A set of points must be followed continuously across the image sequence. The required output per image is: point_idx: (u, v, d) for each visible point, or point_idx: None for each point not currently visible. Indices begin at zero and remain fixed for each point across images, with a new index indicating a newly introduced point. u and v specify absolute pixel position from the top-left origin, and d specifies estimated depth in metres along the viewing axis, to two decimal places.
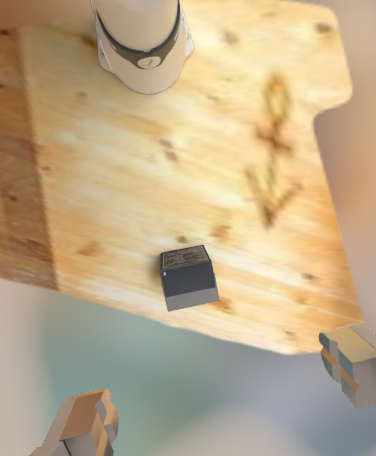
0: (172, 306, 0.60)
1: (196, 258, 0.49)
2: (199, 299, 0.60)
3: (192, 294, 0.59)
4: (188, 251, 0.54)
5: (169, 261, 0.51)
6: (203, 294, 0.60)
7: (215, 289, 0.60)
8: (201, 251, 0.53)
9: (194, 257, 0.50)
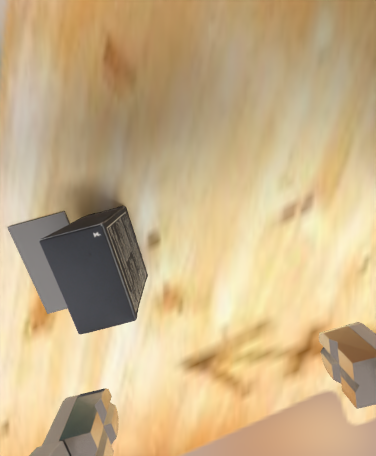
0: (19, 234, 0.31)
1: (132, 286, 0.25)
2: (42, 281, 0.33)
3: None
4: (137, 258, 0.30)
5: (119, 232, 0.26)
6: (55, 286, 0.33)
7: None
8: (141, 283, 0.30)
9: (133, 279, 0.27)
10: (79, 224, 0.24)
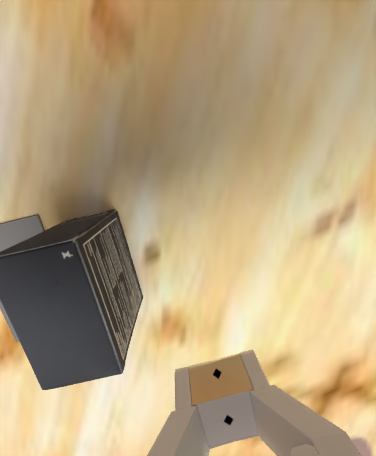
0: None
1: (120, 322, 0.19)
2: None
3: None
4: (129, 278, 0.24)
5: (103, 248, 0.19)
6: None
7: None
8: (134, 311, 0.23)
9: (122, 311, 0.20)
10: (47, 236, 0.17)
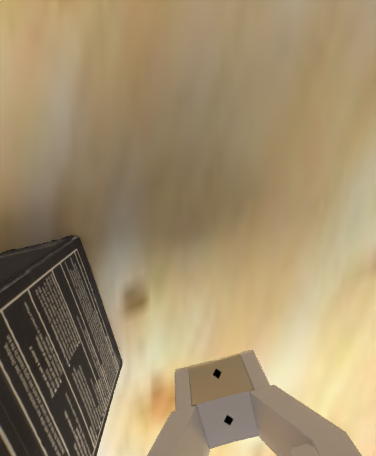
0: None
1: None
2: None
3: None
4: (97, 346, 0.15)
5: (34, 321, 0.10)
6: None
7: None
8: (102, 406, 0.14)
9: (73, 432, 0.11)
10: None
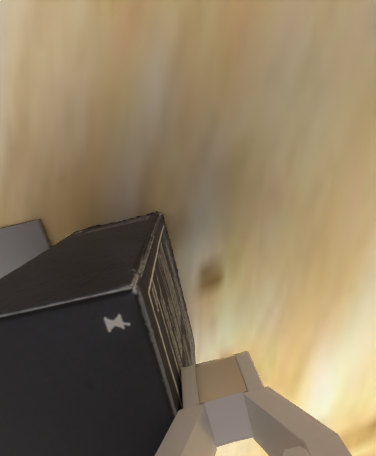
0: None
1: None
2: None
3: None
4: (185, 320, 0.15)
5: (164, 284, 0.10)
6: None
7: None
8: None
9: None
10: (61, 265, 0.09)
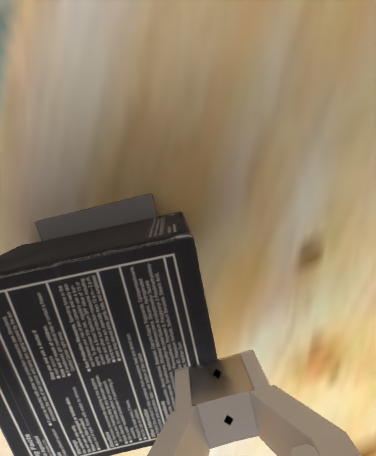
0: (57, 236, 0.15)
1: (52, 427, 0.11)
2: None
3: None
4: (161, 380, 0.11)
5: (46, 313, 0.10)
6: None
7: None
8: (143, 433, 0.12)
9: (74, 418, 0.11)
10: (45, 247, 0.12)
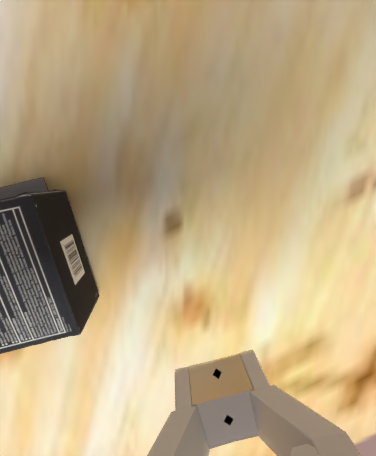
0: None
1: None
2: None
3: None
4: (22, 296, 0.16)
5: None
6: None
7: None
8: (14, 337, 0.17)
9: None
10: None
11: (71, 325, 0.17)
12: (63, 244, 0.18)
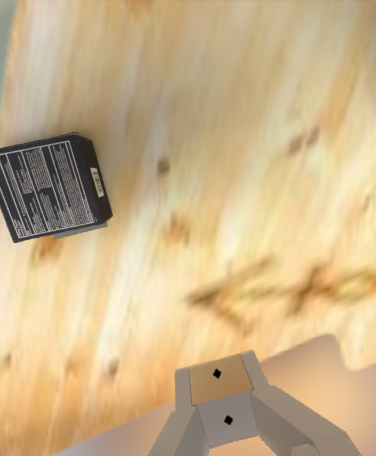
0: None
1: (24, 217, 0.27)
2: None
3: None
4: (68, 197, 0.27)
5: (21, 163, 0.26)
6: None
7: (76, 230, 0.34)
8: (63, 223, 0.28)
9: (33, 213, 0.27)
10: None
11: (97, 218, 0.28)
12: (92, 170, 0.29)
